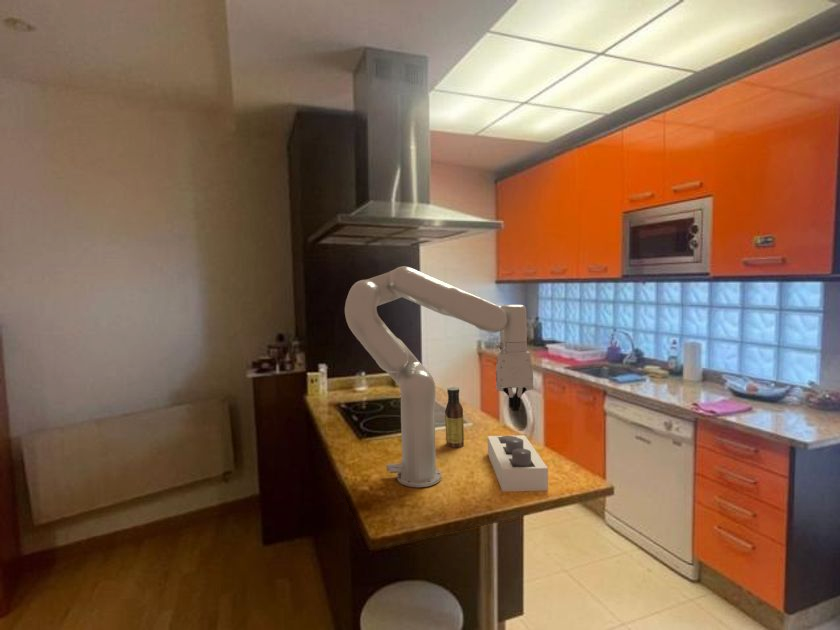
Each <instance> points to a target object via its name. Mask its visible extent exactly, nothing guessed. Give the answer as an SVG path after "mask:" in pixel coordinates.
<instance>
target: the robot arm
mask: <svg viewBox="0 0 840 630" xmlns="http://www.w3.org/2000/svg"><path fill="white" fill-rule="evenodd" d="M400 298H403V299H406V300H408V301H410V302H412V303H415V304H417V305H419V306H422V307H423V308H426V309H428V310H431V311H433V312H436V313H438V314H440V315H442V316H443V315H444V316H448V317H451V318H455V319H456V320H459V321H462V322H465V323H468V324H470V325H472V326H474V327H475V328H477V329H479V330H480V331H484V332H487V333H490V334H494V333H499V338H500V339H499V343H495V345H494V346H495V349H498V350H499V351H498V352H497V359H496V367H495V381H496V385H495V389H496V391H499V392H503V393H505V394H506V395H507V396H508V407H509V409H511V411H512V412H519V408H521V398H522V395H523V394H525V392H527V391H531V390H533V389H534V370H533V368H534V367H533V362H532V361H533V360H532V354H531V352H530V351H528V340H527V339H528V338H527V337H528V336H527V335H528V331H527V330H528V329H527V323H528V322H527V308H526V306H525V305H523V304H504V305H497V304H494V303H493V302H491V301H489V300H486V299H483V298H481V297H479V296H476V295H474V294H472V293H469V292H467V291H465V290H462V289H460V288H458V287H456V286H453V285H451V284H449V283H446V282H445V281H442V280H440V279H437V278H435V277H433V276H430V275H428V274H427V273H424V272H422V271H419V270H418V269H415V268H412V267H410V266H405V265H403V266H398V267H396V268H395V269H392V270H390V271H388V272H385V273H383V274H380V275H375V276H373V277H371V278H367V279H361V280H358V281H356V282H355V283H354V284H353V285H351V288H350V289H349V291H348V294H347V298H346V299H345V305H344V315H345V320H346V323H347V326H348V328H349V329H350V331H351V332H352V334H353V335H354V336H355V338H356V340H358V342H360V344H361V345H362V347H363V348H364V349H365V350H366V351H367V352H368V354H369V355H370V356H371V358H373V360H374V361H375V362H376V364H377V365H378V367H379V368H381V370H383V371H385V372H386V374H388V375H389V377H390V378H391V379H392V380H393V381H394V382H395V383H396V384H397V385H398V387H399V391H400V427H401V428H400V429H401V430H400V431H401V461H400V462H397V463H386V471H390V474H397V475H396V477H397V482H398V483H400V485H404V486H406V487H410V488H411V487H412V488H427V487H430V486H433V485H436V484H438V483H439V482H440V481H441V480H442V472H441V471H440V469H438V468H437V462H436V461H437V456H436V422H435V419H436V418H435V416H436V415H435V406H436V384H435V380H434V378H433V376H432V374H431V373H430V372H429V370H428V369H427V368H426V367H425V366H424V365H423V364H422V363H421V362H420V361H419V360H418V358H417V357H416V356H415V354H414V353H413V352H412V351H411V350H410V349H409V348H408V346H407V345H406V344H405V343H404V342H403V341H402V339H400V338H398V337H397V336H396V335H395V333H393V332H392V331H391V329H389V327H388V326H387V325H386V323H385V322H384V321H383V320H382V319H381V317H380V316H379V314H378V310H377V307H378V306H381V305H384V304H386V303H391V302H392V301H395V300H398V299H400ZM514 388H515V393H514V392H513V391H514V390H513V389H514Z"/></svg>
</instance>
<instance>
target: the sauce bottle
mask: <svg viewBox="0 0 840 630" xmlns="http://www.w3.org/2000/svg"><path fill="white" fill-rule="evenodd" d="M446 391H447V404H446V407H445V410H444V416H445V419H444V420H445V421H444V422H445V440H446V441H445V442H446V445H447V446H449V447H451V448H460V447H463V446H464V444H465V428H464V427H465V425H464V424H465V423H464V422H465V421H464V419H465V418H464V409H463V406H462V404H461V402H460V388H459V387H448V388H447V390H446Z"/></svg>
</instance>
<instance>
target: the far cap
mask: <svg viewBox="0 0 840 630" xmlns="http://www.w3.org/2000/svg"><path fill="white" fill-rule="evenodd" d="M501 436H502V437H501V444H503V443H506V439H507V438H516V437H513V436H514V435H501Z"/></svg>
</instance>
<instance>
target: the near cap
mask: <svg viewBox="0 0 840 630" xmlns="http://www.w3.org/2000/svg"><path fill="white" fill-rule="evenodd" d="M512 467H531V451H529V450H527V449H521V448H519V449H514V450H512Z"/></svg>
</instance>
